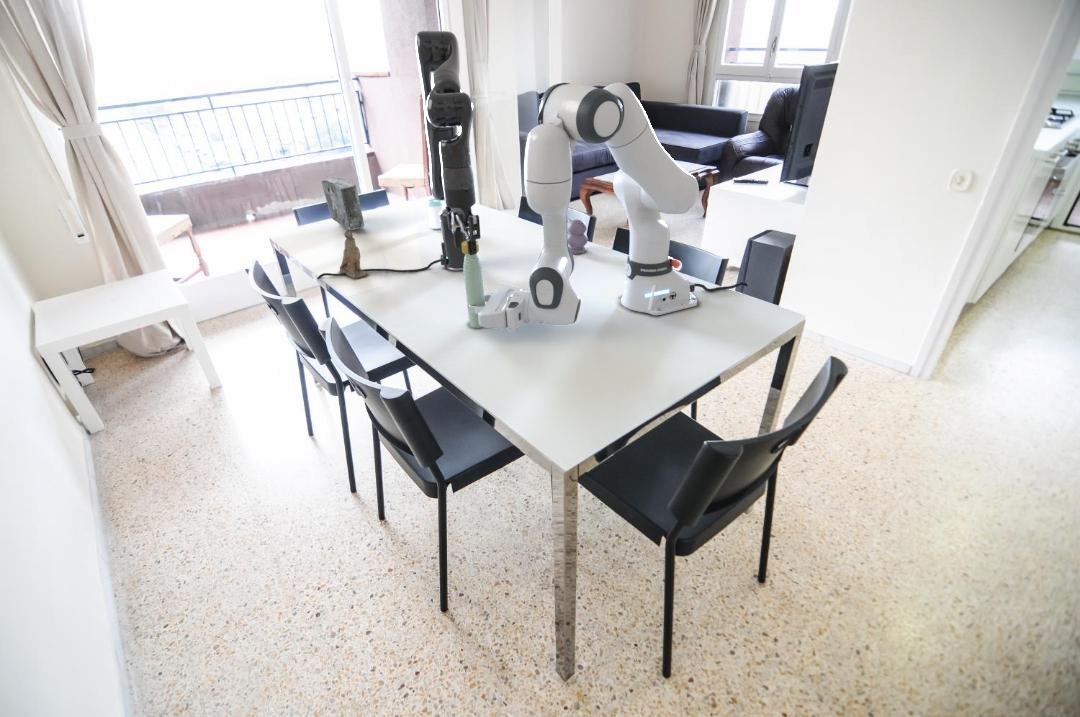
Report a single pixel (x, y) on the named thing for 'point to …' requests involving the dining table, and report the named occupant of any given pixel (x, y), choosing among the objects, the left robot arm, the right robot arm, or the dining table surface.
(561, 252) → the right robot arm
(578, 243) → the cat figurine
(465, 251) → the cap
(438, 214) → the white lidded cup
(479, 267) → the bottle
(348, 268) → the brown carved statuette
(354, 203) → the concrete block
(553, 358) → the dining table surface
